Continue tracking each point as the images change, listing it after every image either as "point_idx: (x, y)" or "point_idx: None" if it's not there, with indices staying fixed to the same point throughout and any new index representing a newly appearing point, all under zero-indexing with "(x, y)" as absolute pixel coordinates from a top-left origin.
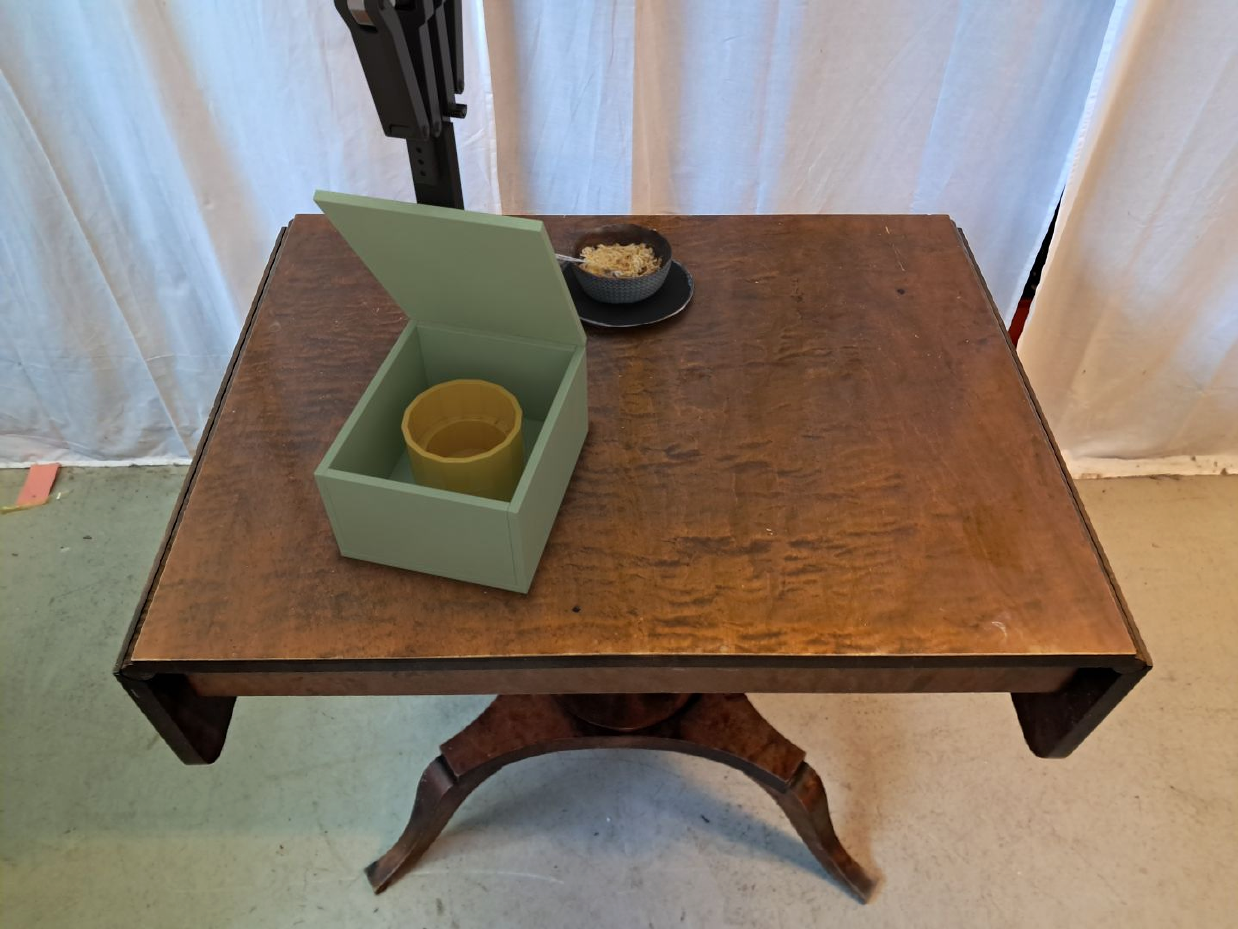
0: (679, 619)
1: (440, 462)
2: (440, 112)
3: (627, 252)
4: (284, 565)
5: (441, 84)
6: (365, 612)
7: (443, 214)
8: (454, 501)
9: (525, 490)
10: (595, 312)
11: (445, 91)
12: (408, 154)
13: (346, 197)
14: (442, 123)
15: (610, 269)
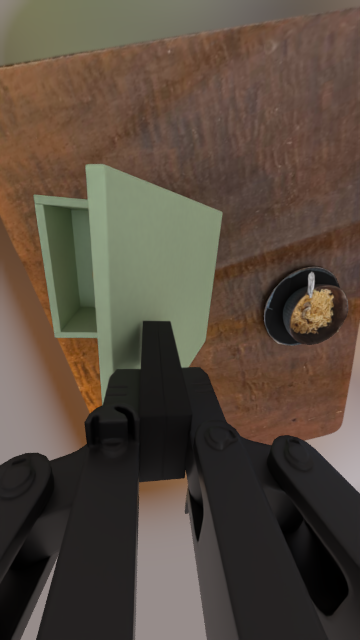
0: (86, 371)
1: (92, 274)
2: (188, 481)
3: (325, 312)
4: (46, 165)
5: (200, 577)
6: (35, 231)
7: (104, 384)
8: (49, 301)
9: (73, 337)
10: (279, 298)
11: (196, 555)
12: (141, 375)
13: (100, 237)
14: (175, 466)
15: (310, 305)
